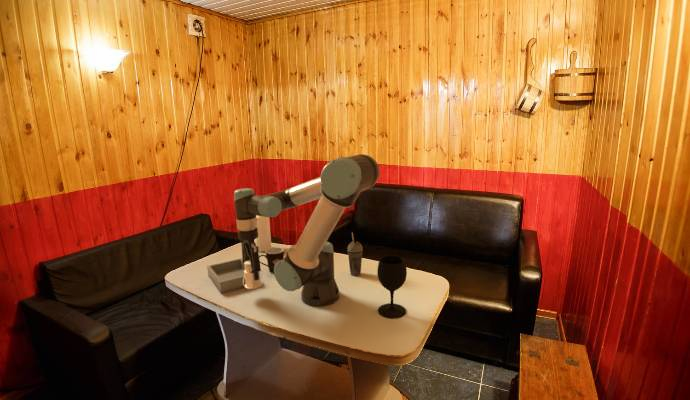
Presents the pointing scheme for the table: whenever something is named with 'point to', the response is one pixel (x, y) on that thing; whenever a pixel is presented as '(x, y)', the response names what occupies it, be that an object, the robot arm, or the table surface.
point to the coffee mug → (273, 257)
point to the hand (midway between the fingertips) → (253, 283)
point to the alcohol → (263, 234)
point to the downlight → (249, 276)
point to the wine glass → (392, 283)
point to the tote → (227, 275)
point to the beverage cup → (355, 257)
